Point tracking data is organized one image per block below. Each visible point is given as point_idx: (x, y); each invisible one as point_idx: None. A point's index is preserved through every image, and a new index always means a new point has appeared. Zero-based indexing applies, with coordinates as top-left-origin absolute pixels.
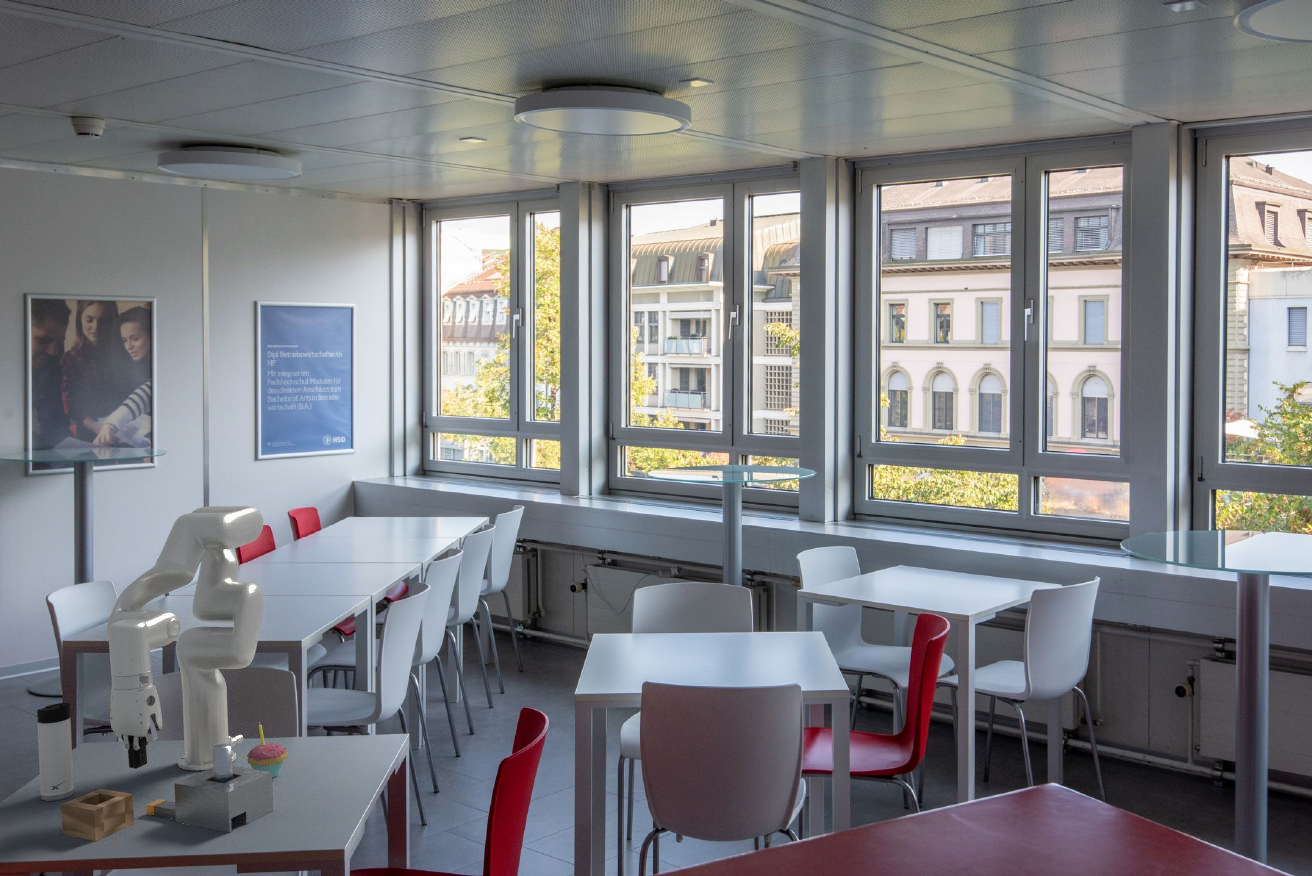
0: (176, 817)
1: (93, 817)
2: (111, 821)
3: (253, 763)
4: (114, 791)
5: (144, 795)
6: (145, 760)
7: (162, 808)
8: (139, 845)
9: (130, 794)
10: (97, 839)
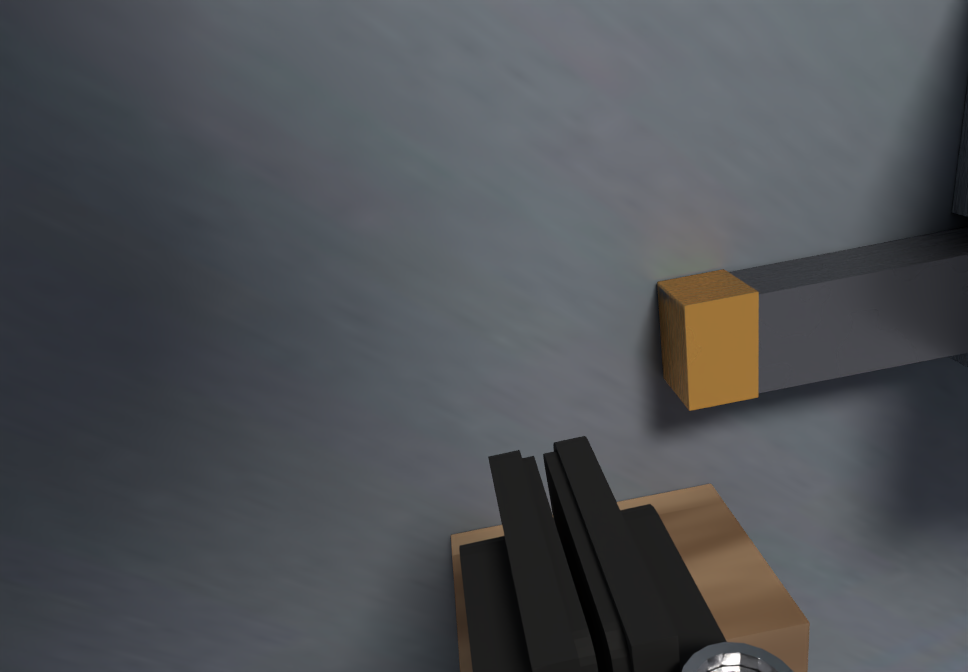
0: (965, 361)
1: None
2: None
3: None
4: None
5: (287, 175)
6: (650, 512)
7: (832, 376)
8: (958, 590)
9: (793, 632)
10: None
